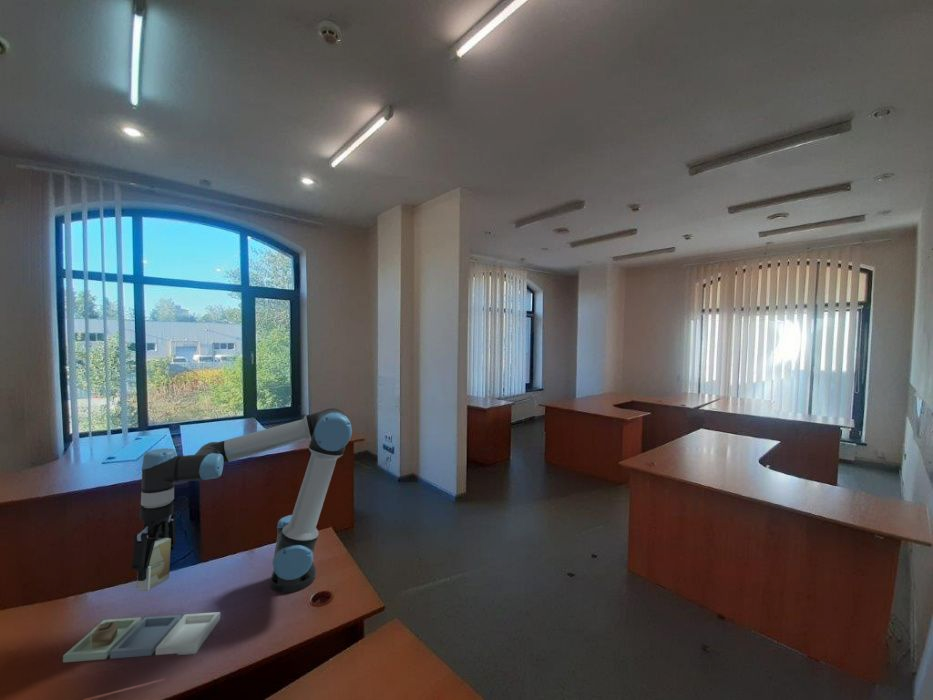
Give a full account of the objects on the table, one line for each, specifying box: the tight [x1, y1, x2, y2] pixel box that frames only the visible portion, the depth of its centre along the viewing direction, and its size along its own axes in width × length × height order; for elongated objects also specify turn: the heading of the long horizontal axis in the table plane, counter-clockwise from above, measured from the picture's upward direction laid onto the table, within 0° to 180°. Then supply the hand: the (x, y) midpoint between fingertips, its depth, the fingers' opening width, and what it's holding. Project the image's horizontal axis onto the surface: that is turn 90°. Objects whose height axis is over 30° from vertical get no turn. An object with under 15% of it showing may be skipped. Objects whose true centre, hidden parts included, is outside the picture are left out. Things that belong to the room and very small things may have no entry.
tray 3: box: [155, 611, 221, 656], centre depth 107 cm, size 10×13×2 cm
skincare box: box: [136, 538, 172, 591], centre depth 108 cm, size 6×4×12 cm
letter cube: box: [92, 621, 118, 649], centre depth 104 cm, size 4×4×4 cm
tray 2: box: [109, 614, 182, 660], centre depth 106 cm, size 10×13×2 cm
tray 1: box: [62, 616, 142, 663], centre depth 104 cm, size 10×13×2 cm
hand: (153, 581), depth 108 cm, fingers closed on skincare box, 7 cm apart
